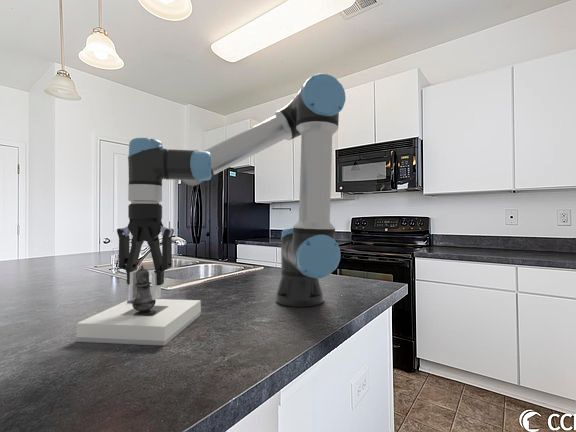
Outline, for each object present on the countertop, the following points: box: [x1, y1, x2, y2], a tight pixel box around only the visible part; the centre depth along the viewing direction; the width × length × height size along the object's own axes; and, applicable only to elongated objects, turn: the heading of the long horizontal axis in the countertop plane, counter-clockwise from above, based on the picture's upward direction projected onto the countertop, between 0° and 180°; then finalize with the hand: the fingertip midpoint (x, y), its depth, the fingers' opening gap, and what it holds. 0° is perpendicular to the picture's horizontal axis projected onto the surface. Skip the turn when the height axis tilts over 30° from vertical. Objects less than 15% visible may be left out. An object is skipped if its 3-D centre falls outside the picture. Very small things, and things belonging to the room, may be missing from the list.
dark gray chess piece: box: [131, 264, 156, 316], centre depth 77 cm, size 6×6×12 cm
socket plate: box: [76, 298, 202, 346], centre depth 77 cm, size 20×20×5 cm
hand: (145, 297), depth 76 cm, fingers closed on dark gray chess piece, 5 cm apart
